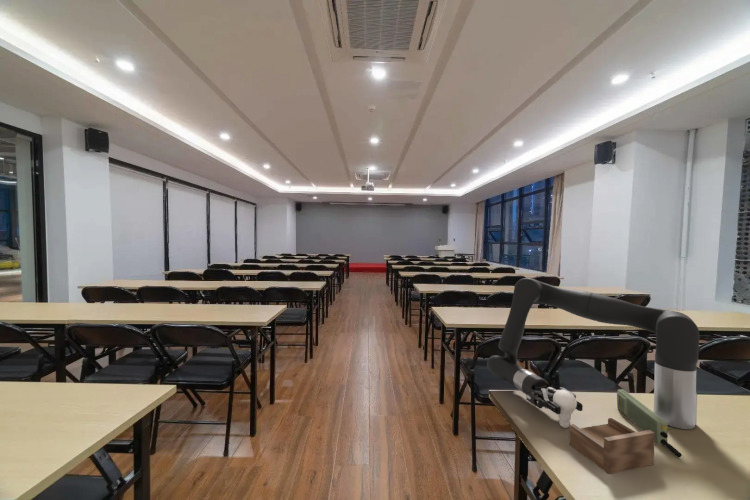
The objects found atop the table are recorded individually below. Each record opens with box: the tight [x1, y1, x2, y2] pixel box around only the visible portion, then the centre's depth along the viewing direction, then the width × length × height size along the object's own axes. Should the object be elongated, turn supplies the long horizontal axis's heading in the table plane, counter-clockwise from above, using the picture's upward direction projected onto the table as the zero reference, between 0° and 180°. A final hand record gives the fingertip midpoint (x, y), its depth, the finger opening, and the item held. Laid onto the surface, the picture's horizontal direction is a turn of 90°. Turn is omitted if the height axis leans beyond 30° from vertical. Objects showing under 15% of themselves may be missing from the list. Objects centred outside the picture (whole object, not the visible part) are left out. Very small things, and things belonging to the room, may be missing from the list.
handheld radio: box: [616, 388, 683, 458], centre depth 93 cm, size 7×3×25 cm
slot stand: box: [569, 417, 655, 475], centre depth 83 cm, size 14×11×8 cm
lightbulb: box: [553, 389, 578, 429], centre depth 94 cm, size 6×6×11 cm
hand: (570, 409), depth 92 cm, fingers open, 7 cm apart
